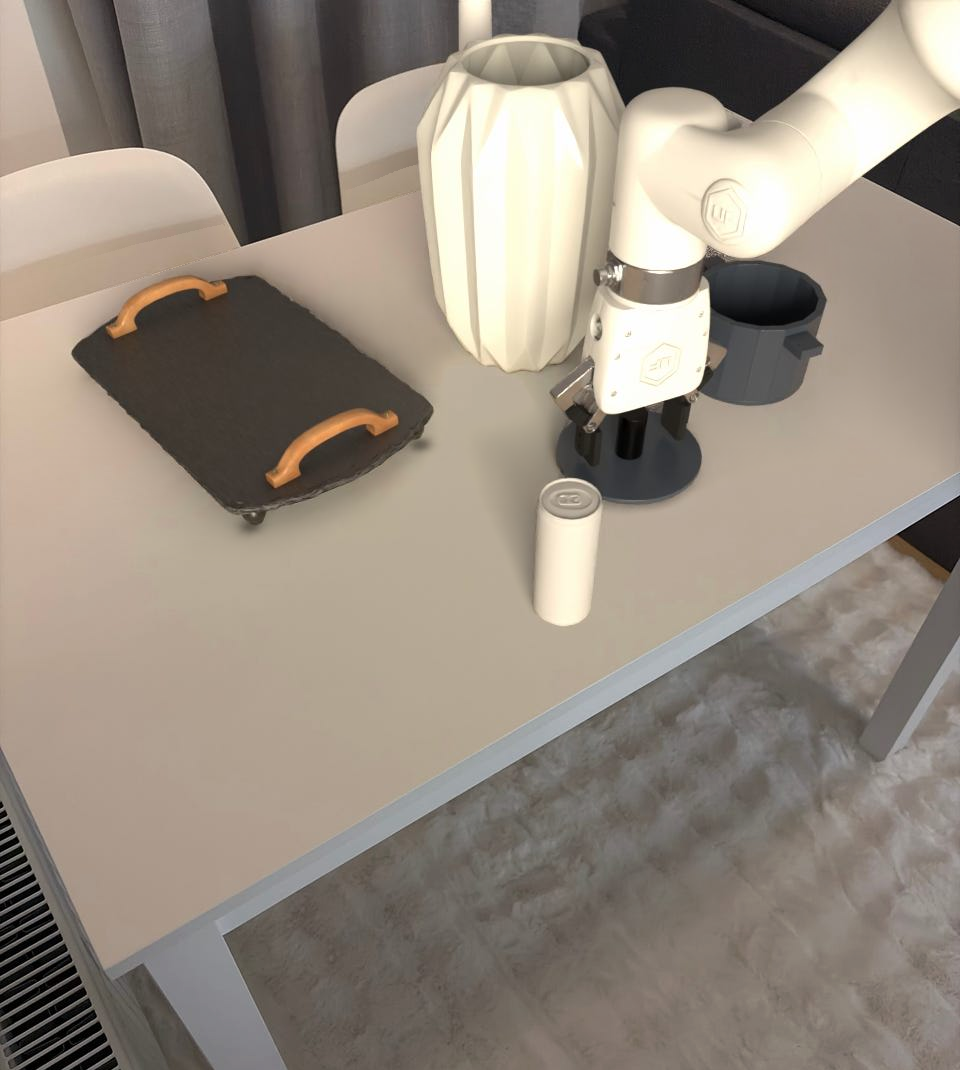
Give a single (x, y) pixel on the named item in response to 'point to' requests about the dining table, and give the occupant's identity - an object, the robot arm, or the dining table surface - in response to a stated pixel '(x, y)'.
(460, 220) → the vase
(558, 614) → the beverage can
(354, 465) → the serving tray
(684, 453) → the lid
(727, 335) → the pot
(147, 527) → the dining table surface
